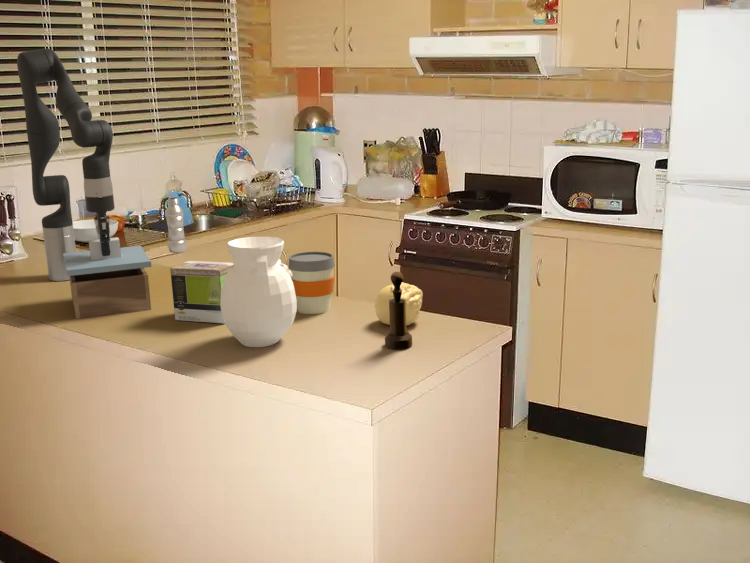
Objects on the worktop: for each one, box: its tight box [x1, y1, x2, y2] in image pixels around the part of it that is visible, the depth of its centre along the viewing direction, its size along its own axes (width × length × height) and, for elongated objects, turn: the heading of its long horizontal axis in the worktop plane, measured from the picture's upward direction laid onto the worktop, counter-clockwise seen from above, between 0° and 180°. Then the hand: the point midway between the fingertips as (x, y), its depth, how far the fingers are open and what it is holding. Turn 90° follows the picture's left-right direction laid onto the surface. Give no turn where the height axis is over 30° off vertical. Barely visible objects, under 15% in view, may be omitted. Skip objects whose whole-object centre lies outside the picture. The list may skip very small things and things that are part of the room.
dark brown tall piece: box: [384, 271, 413, 350], centre depth 201 cm, size 7×6×18 cm
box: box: [69, 268, 152, 320], centre depth 243 cm, size 20×20×10 cm
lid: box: [63, 237, 152, 276], centre depth 241 cm, size 22×22×7 cm
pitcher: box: [220, 236, 298, 348], centre depth 206 cm, size 19×18×25 cm
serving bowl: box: [72, 218, 119, 244], centre depth 335 cm, size 21×21×7 cm
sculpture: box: [374, 282, 424, 327], centre depth 219 cm, size 11×12×11 cm
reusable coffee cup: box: [288, 251, 336, 315], centre depth 233 cm, size 13×13×15 cm
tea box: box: [169, 260, 235, 324], centre depth 228 cm, size 15×10×15 cm, turn 71°
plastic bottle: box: [164, 196, 188, 254], centre depth 307 cm, size 6×7×20 cm
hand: (105, 253), depth 241 cm, fingers closed on lid, 4 cm apart
